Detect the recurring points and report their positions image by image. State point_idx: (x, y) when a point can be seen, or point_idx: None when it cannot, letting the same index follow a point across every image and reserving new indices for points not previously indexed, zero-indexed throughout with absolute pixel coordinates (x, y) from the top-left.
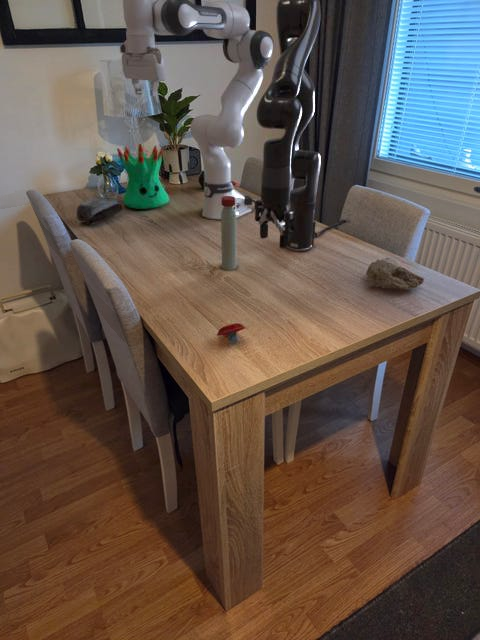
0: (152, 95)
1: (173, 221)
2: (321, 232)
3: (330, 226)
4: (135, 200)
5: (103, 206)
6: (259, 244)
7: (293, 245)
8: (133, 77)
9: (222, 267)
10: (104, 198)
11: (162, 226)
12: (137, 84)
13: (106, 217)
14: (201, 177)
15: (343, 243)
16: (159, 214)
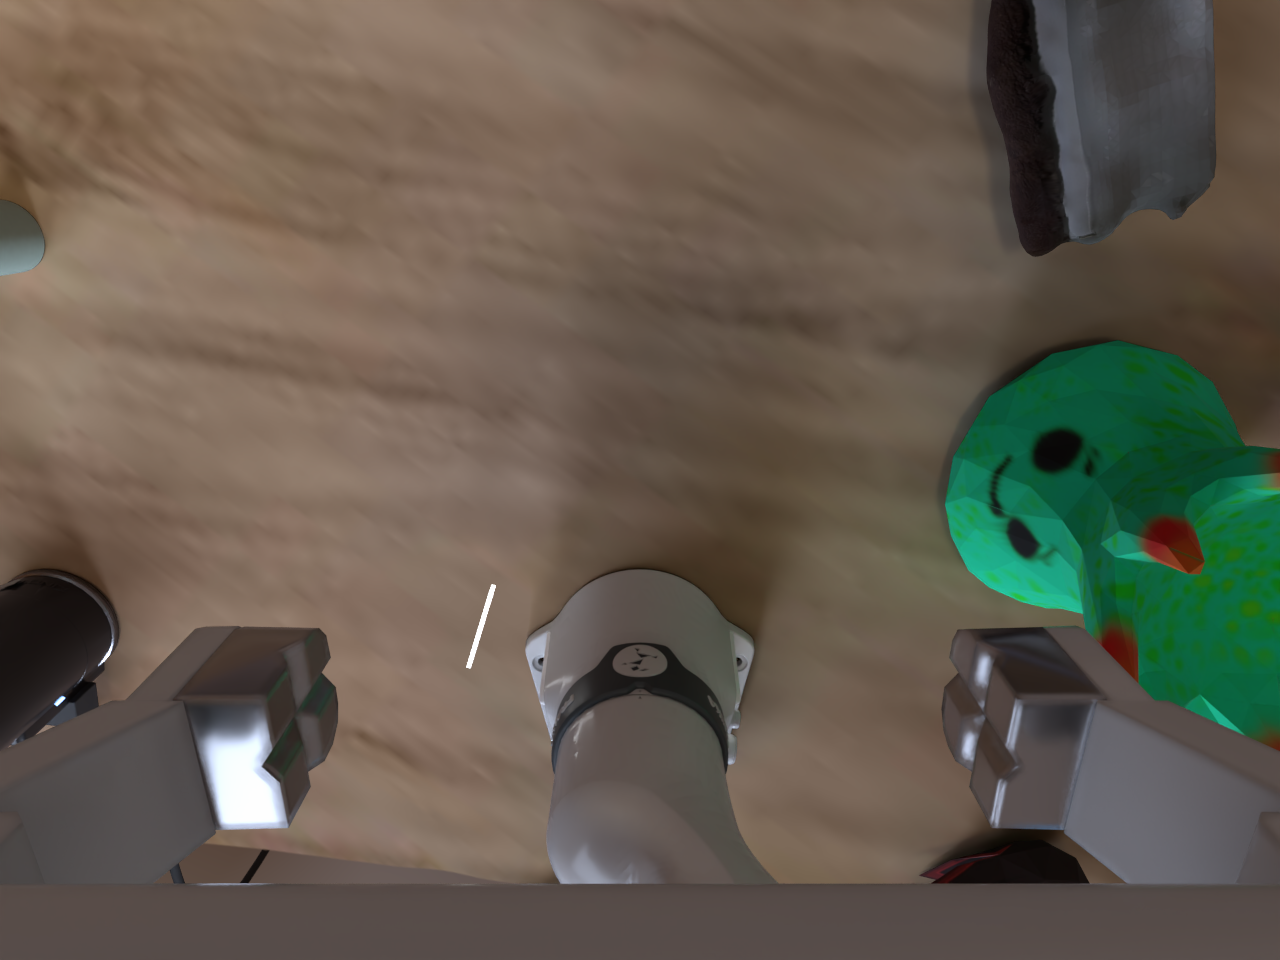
0: (222, 628)
1: (719, 416)
2: None
3: None
4: (1059, 382)
5: (1067, 98)
6: (177, 521)
7: (9, 583)
8: (1270, 919)
9: (7, 202)
10: (1180, 180)
11: (696, 324)
12: (1194, 882)
13: (987, 83)
14: (1054, 877)
15: None
16: (872, 427)
